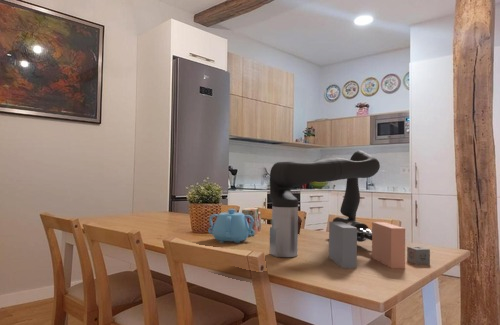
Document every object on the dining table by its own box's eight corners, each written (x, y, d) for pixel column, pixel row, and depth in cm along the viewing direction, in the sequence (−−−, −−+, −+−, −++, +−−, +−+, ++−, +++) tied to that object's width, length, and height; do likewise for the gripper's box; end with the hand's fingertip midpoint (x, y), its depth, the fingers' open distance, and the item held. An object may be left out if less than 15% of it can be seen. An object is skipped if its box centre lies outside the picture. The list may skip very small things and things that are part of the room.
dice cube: (420, 261, 125) (420, 246, 126) (429, 264, 121) (429, 249, 121) (407, 261, 125) (407, 246, 125) (415, 265, 120) (415, 249, 120)
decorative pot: (238, 236, 168) (238, 206, 168) (257, 242, 154) (257, 209, 155) (205, 239, 159) (206, 208, 160) (222, 245, 145) (223, 211, 146)
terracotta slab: (405, 268, 115) (405, 228, 115) (391, 268, 115) (391, 228, 115) (384, 257, 130) (384, 222, 130) (371, 257, 130) (372, 222, 130)
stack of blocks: (249, 229, 191) (249, 205, 192) (261, 229, 190) (261, 205, 191) (241, 235, 170) (241, 209, 171) (254, 236, 169) (254, 209, 170)
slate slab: (356, 268, 114) (357, 227, 114) (342, 268, 113) (342, 227, 114) (341, 257, 129) (341, 221, 129) (328, 257, 128) (329, 221, 129)
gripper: (372, 239, 152) (391, 248, 134) (341, 239, 151) (356, 248, 133) (372, 221, 152) (391, 227, 135) (341, 221, 151) (356, 227, 134)
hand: (374, 237), depth 134 cm, fingers closed
